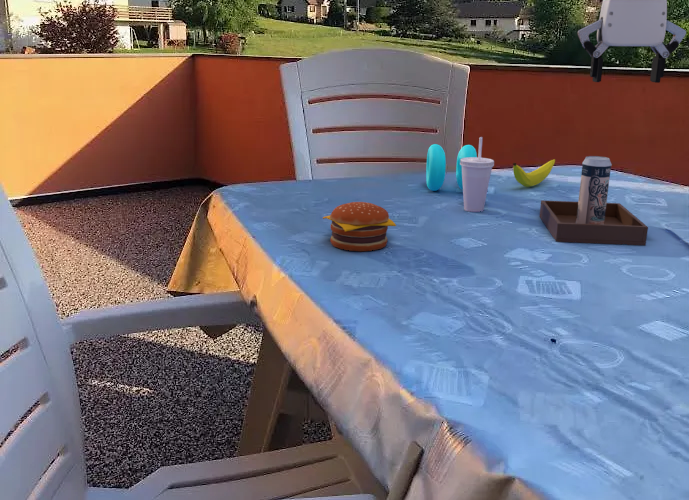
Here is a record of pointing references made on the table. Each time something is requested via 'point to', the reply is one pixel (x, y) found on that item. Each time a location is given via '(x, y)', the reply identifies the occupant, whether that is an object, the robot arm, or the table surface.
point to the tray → (592, 225)
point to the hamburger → (359, 226)
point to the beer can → (593, 190)
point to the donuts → (444, 165)
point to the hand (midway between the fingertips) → (625, 81)
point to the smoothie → (475, 180)
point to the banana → (532, 174)
